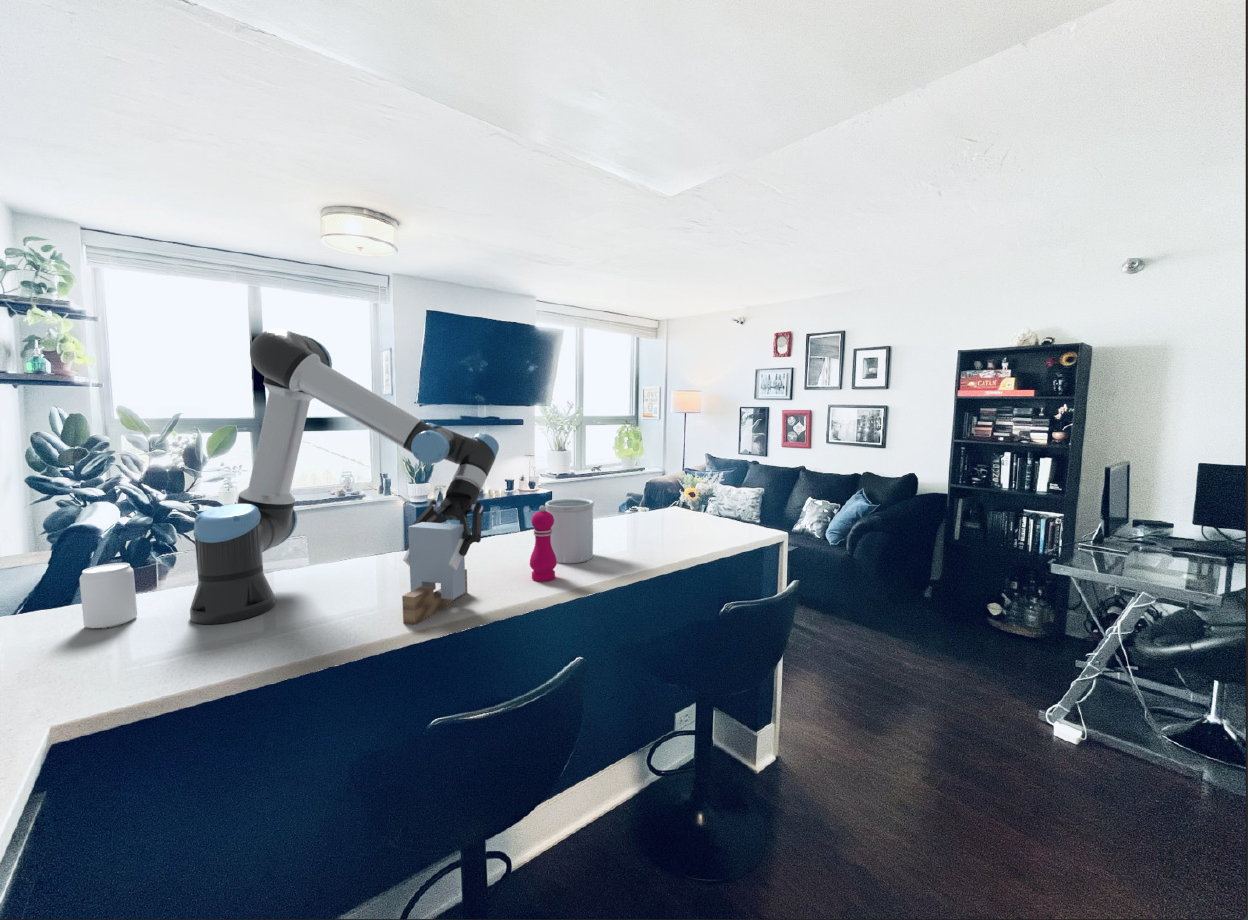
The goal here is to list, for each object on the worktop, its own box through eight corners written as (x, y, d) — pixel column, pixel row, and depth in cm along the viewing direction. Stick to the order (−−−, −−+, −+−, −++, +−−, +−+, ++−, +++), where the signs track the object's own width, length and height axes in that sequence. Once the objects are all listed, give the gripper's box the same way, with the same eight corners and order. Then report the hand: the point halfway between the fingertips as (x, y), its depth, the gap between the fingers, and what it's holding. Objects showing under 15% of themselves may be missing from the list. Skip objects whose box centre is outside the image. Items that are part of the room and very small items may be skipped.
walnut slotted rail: (415, 624, 110) (414, 597, 109) (403, 623, 111) (402, 595, 110) (467, 592, 129) (466, 569, 128) (456, 591, 130) (456, 568, 129)
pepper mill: (538, 584, 135) (537, 509, 134) (525, 577, 141) (524, 505, 139) (561, 578, 140) (561, 505, 138) (547, 572, 146) (547, 502, 144)
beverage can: (145, 613, 115) (140, 560, 114) (125, 627, 108) (120, 571, 107) (98, 618, 112) (92, 564, 111) (74, 633, 105) (69, 575, 104)
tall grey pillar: (410, 595, 119) (408, 526, 117) (424, 587, 123) (422, 521, 122) (453, 599, 116) (450, 529, 114) (465, 592, 121) (463, 524, 119)
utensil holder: (544, 565, 152) (543, 506, 151) (547, 551, 167) (546, 497, 166) (594, 564, 154) (594, 505, 152) (593, 550, 168) (593, 497, 167)
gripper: (513, 497, 129) (482, 577, 116) (432, 493, 135) (393, 568, 122) (502, 479, 124) (469, 560, 110) (418, 476, 130) (376, 552, 116)
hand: (429, 565), depth 116 cm, fingers closed on tall grey pillar, 11 cm apart
